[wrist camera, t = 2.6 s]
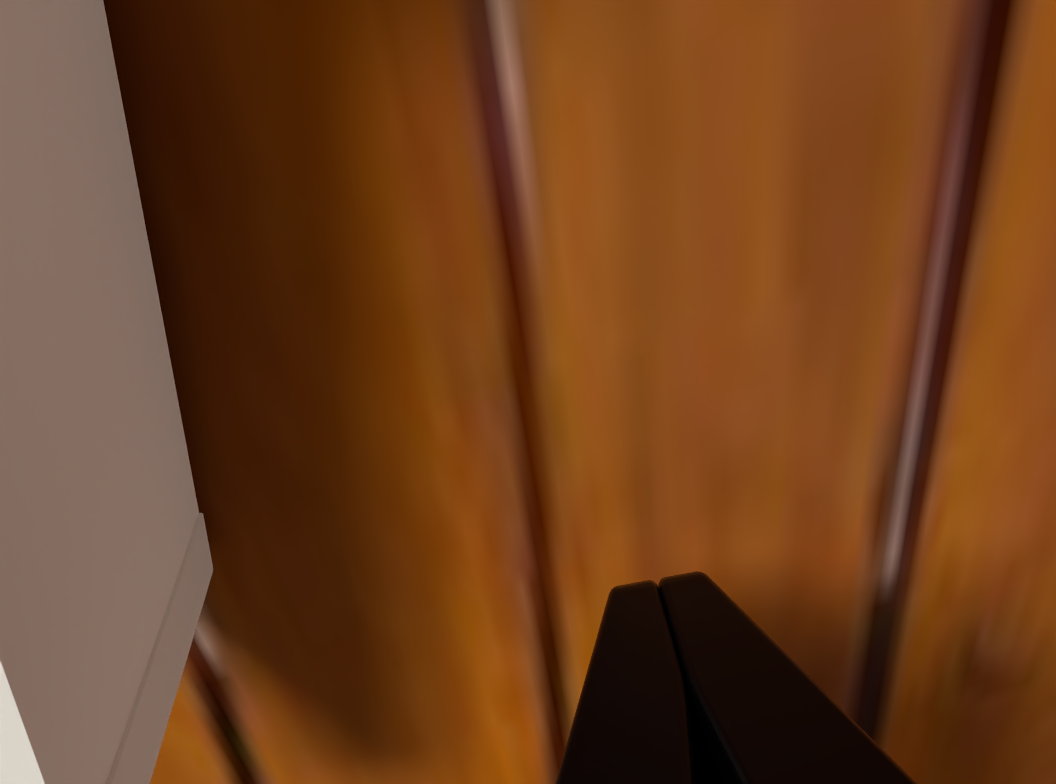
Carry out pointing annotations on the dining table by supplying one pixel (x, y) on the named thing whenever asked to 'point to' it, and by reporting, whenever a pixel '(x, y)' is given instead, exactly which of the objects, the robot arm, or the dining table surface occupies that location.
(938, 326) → the dining table surface
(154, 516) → the long white bar
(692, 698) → the robot arm
